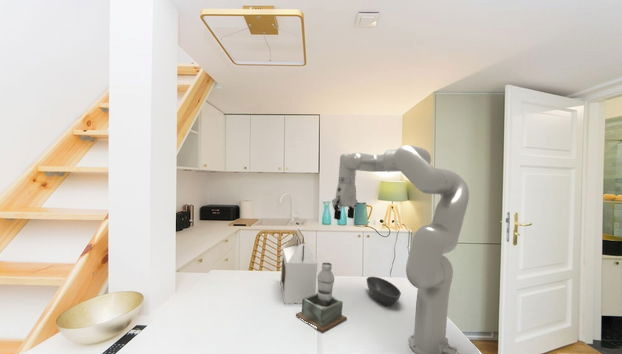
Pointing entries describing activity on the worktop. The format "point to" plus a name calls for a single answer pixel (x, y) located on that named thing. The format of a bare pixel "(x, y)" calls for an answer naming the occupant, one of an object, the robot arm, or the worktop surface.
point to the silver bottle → (325, 286)
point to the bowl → (383, 291)
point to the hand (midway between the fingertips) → (344, 218)
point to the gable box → (298, 270)
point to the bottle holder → (321, 313)
